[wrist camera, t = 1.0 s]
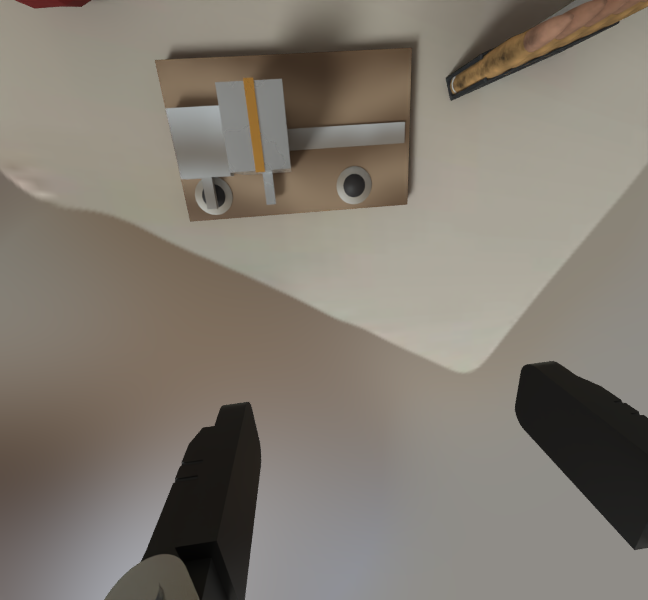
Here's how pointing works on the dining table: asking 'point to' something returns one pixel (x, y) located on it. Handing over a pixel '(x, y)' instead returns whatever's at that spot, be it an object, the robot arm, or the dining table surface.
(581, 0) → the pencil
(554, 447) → the robot arm
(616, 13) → the ammunition clip
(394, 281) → the dining table surface
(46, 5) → the apple
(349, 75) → the sliding latch plate
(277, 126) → the grey latch block
